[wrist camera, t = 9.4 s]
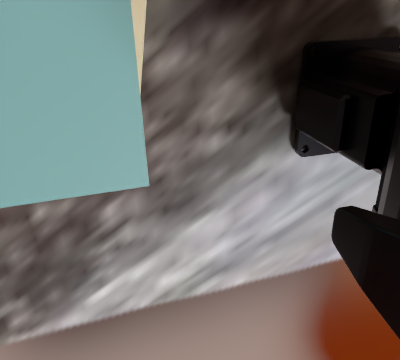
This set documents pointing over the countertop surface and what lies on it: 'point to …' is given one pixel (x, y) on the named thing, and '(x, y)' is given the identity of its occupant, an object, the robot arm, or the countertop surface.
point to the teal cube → (68, 100)
